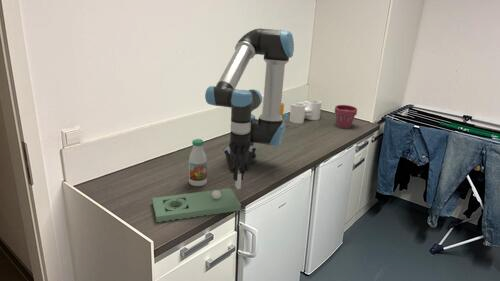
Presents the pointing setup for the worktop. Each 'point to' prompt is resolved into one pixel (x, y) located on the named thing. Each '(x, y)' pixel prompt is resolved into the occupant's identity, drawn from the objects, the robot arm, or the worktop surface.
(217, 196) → the ball
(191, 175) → the milk bottle
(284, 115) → the orange blue toy
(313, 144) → the worktop surface
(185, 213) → the plate
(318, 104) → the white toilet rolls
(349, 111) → the plant pot
